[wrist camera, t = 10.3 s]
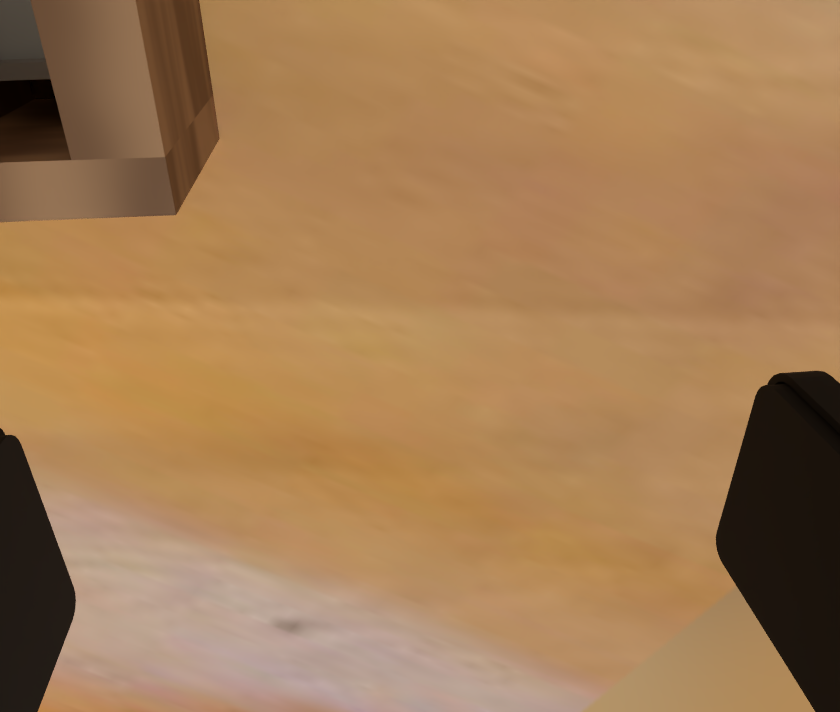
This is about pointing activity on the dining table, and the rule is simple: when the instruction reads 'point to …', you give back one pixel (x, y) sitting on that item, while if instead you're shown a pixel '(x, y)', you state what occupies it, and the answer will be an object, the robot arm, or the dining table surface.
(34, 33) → the rail
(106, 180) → the brown wooden u-shaped block
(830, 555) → the robot arm
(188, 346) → the dining table surface
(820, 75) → the dining table surface
